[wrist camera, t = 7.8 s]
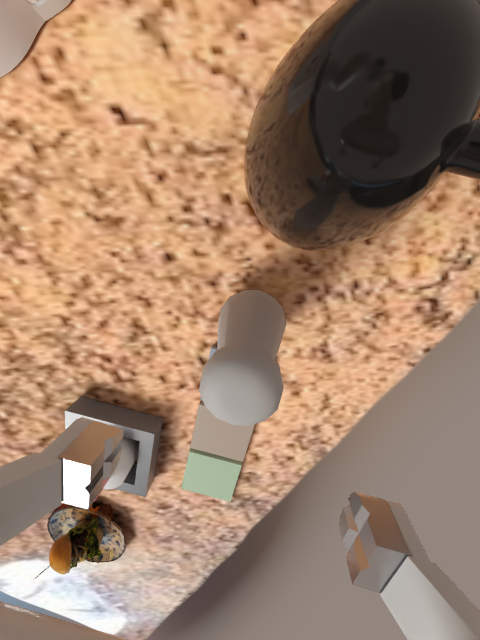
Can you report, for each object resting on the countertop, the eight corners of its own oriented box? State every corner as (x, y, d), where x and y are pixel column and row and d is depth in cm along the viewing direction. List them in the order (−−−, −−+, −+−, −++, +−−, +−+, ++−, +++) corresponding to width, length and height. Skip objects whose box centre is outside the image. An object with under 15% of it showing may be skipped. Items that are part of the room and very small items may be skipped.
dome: (93, 417, 30) (53, 460, 24) (143, 430, 30) (114, 476, 24) (92, 454, 32) (55, 502, 26) (138, 466, 32) (111, 517, 26)
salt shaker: (216, 291, 24) (162, 355, 12) (277, 277, 23) (287, 331, 11) (232, 346, 26) (199, 452, 14) (289, 336, 25) (309, 440, 13)
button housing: (81, 396, 30) (65, 410, 28) (163, 418, 30) (154, 434, 27) (80, 458, 33) (66, 475, 31) (154, 478, 33) (145, 497, 31)
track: (212, 345, 26) (211, 347, 25) (273, 361, 26) (274, 364, 25) (182, 484, 33) (181, 488, 32) (230, 497, 33) (230, 501, 32)
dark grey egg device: (336, 268, 22) (458, 338, 8) (228, 213, 22) (152, 180, 7) (414, 142, 19) (880, -135, 4) (288, 72, 18) (363, -506, 4)
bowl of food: (100, 558, 41) (65, 626, 34) (41, 514, 39) (-9, 577, 32) (148, 532, 37) (120, 601, 30) (86, 482, 35) (42, 545, 28)
